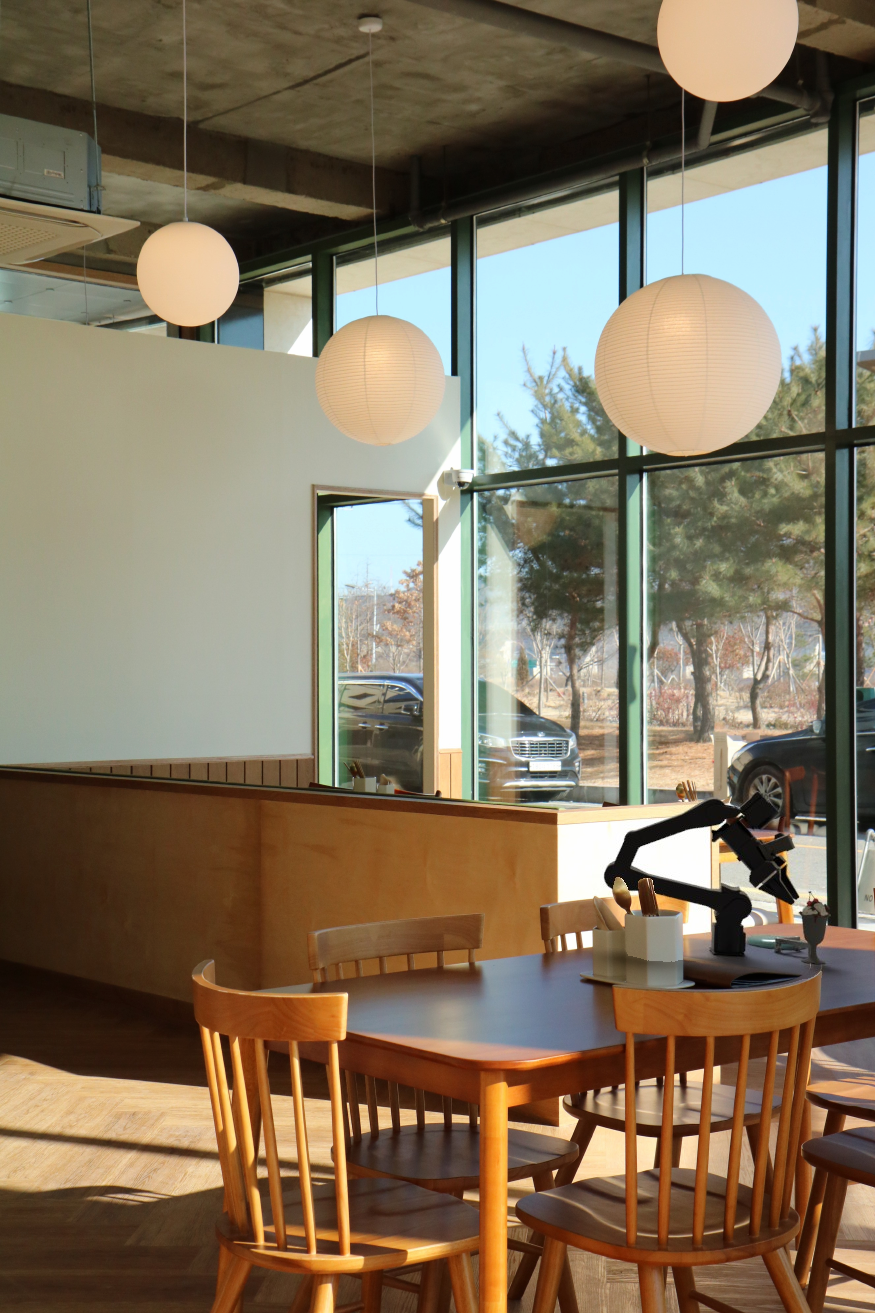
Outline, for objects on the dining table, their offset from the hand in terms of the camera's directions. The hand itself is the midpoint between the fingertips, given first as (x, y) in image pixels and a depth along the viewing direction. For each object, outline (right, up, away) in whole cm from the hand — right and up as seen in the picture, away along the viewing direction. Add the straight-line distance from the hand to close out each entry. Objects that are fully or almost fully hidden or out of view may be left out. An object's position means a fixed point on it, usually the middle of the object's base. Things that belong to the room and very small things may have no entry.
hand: (795, 901), depth 282 cm
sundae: (+3, -13, -2) cm, 13 cm away
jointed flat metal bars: (+1, -13, +7) cm, 15 cm away
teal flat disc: (+1, -13, +19) cm, 23 cm away
